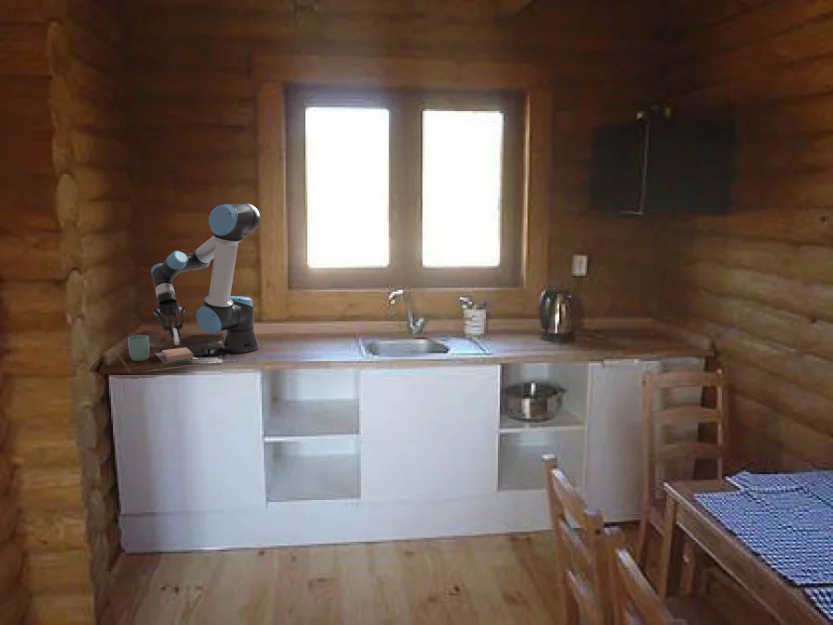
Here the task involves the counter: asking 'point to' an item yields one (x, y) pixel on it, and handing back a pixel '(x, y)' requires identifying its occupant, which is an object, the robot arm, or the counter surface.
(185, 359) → the mat
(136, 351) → the cup
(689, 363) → the counter surface
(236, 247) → the robot arm
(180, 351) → the tile
